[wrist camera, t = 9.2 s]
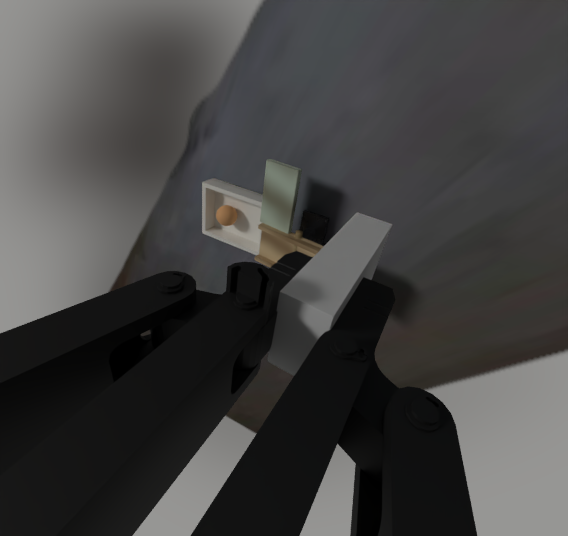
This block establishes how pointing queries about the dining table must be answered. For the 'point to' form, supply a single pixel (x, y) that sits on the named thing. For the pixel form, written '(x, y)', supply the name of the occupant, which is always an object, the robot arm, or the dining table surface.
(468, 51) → the dining table surface
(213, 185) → the dish
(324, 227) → the fulcrum
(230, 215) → the ball
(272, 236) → the lever
